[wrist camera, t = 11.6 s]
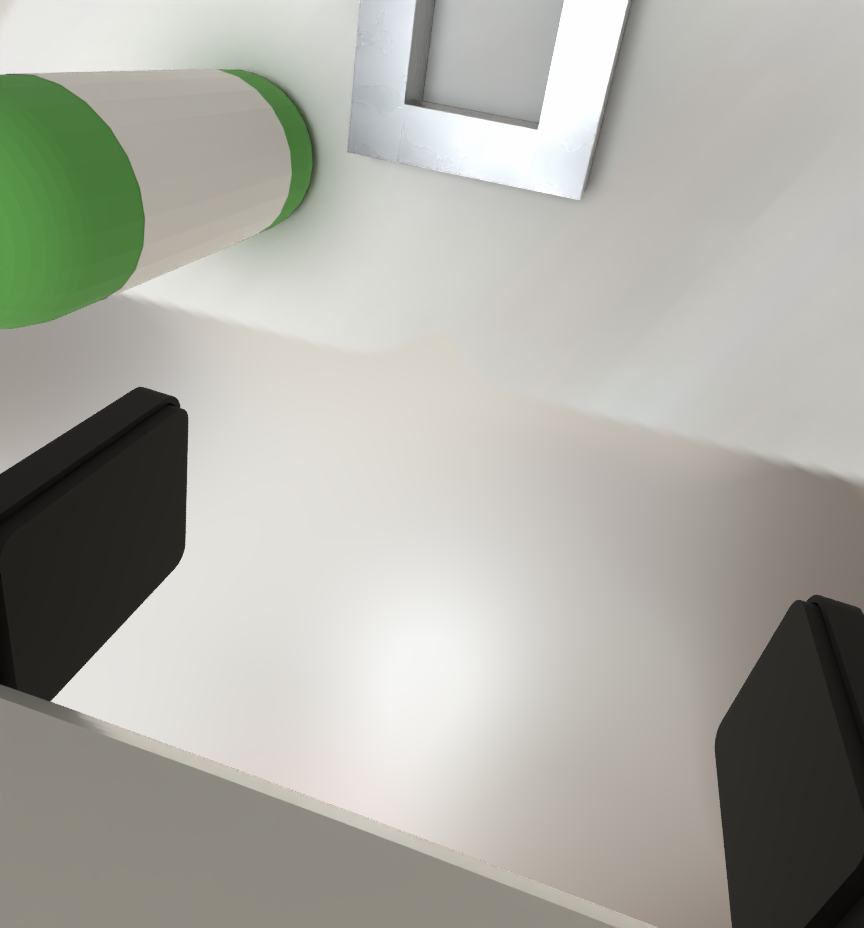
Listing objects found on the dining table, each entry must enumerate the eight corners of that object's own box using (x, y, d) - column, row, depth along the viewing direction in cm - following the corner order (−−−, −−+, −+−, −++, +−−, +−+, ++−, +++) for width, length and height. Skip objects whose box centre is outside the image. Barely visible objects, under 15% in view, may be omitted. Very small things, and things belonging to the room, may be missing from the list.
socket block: (655, -95, 30) (654, -109, 27) (585, 190, 36) (579, 200, 33) (395, -132, 32) (372, -148, 29) (368, 145, 37) (347, 152, 35)
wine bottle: (340, 110, 37) (-357, 220, 12) (296, 250, 41) (-290, 557, 16) (205, 40, 37) (-776, -3, 12) (174, 187, 41) (-600, 388, 16)
